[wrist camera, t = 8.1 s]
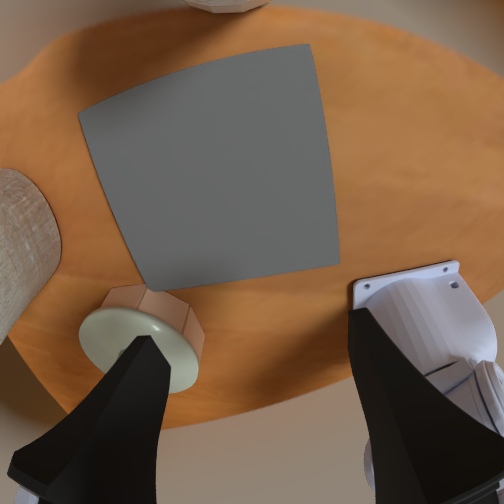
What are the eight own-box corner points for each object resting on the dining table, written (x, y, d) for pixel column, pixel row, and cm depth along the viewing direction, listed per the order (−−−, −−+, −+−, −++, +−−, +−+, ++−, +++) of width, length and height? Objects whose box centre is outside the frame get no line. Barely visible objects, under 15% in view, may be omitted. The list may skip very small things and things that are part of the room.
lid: (175, 303, 18) (156, 364, 14) (213, 387, 23) (206, 436, 19) (62, 307, 19) (34, 352, 15) (115, 382, 24) (102, 423, 20)
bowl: (178, 278, 21) (167, 311, 18) (214, 354, 26) (209, 385, 23) (88, 291, 22) (71, 318, 19) (133, 357, 27) (123, 384, 24)
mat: (307, 45, 12) (309, 43, 12) (338, 259, 20) (339, 264, 19) (82, 111, 14) (77, 113, 14) (152, 287, 22) (150, 292, 21)
